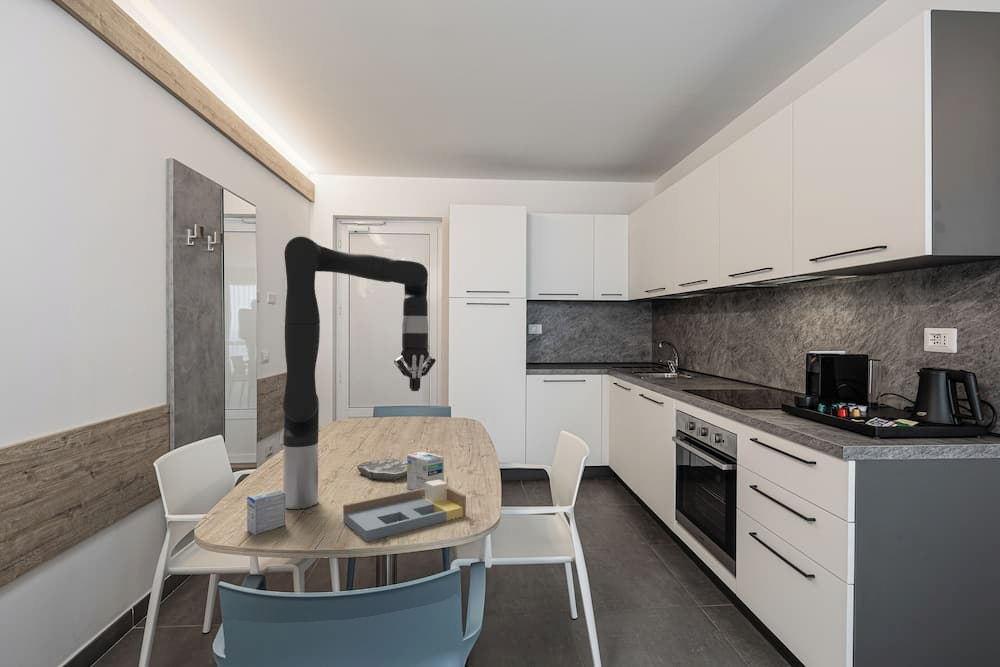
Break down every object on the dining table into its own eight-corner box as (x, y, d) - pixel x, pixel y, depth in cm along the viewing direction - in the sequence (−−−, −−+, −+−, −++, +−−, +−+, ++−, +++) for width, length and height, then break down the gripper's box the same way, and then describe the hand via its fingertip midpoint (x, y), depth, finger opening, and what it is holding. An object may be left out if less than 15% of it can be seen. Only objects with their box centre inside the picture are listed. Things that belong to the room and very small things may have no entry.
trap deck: (343, 521, 133) (343, 500, 133) (437, 500, 150) (437, 481, 150) (366, 541, 121) (366, 518, 121) (465, 515, 138) (465, 495, 138)
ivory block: (424, 497, 145) (425, 482, 145) (438, 494, 147) (438, 479, 147) (432, 502, 141) (432, 486, 141) (446, 499, 144) (447, 483, 144)
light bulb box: (444, 491, 159) (444, 456, 159) (427, 496, 154) (427, 460, 154) (422, 483, 166) (423, 450, 166) (405, 488, 161) (406, 454, 161)
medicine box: (277, 521, 133) (277, 488, 133) (286, 526, 130) (286, 492, 130) (246, 530, 127) (246, 496, 127) (254, 535, 124) (255, 500, 124)
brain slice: (425, 472, 180) (425, 463, 180) (394, 485, 165) (394, 475, 165) (382, 464, 189) (382, 456, 189) (348, 476, 174) (348, 467, 174)
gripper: (429, 331, 157) (428, 388, 157) (388, 331, 149) (388, 391, 150) (441, 331, 151) (441, 390, 151) (400, 331, 143) (399, 393, 143)
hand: (414, 390), depth 150 cm, fingers closed
